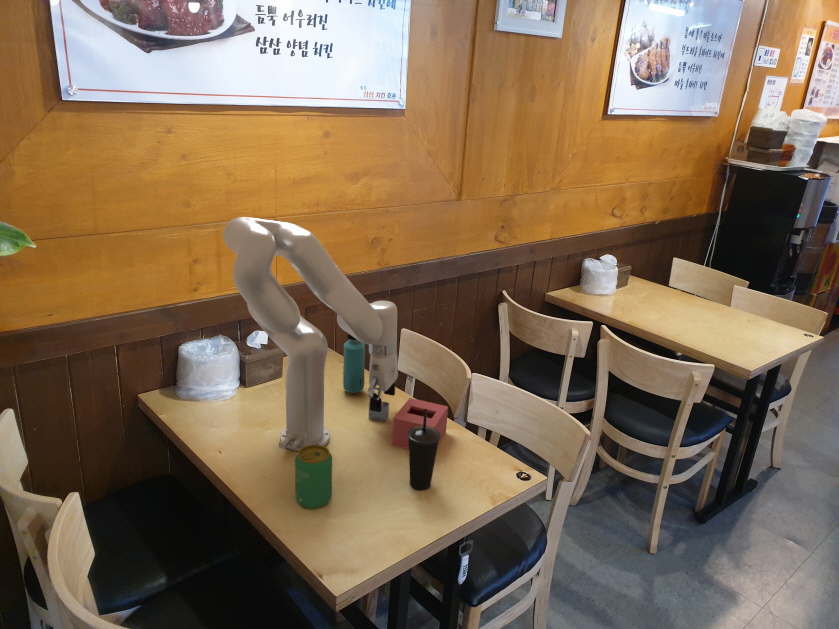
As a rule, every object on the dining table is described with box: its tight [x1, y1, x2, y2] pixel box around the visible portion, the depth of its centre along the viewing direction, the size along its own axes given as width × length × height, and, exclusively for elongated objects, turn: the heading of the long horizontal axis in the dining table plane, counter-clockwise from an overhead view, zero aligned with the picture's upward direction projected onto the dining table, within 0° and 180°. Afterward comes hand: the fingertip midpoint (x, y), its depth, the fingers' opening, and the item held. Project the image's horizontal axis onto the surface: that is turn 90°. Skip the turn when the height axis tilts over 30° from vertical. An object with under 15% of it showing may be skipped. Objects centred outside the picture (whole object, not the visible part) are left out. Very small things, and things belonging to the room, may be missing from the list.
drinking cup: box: [407, 409, 441, 492], centre depth 143 cm, size 8×8×20 cm
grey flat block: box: [368, 400, 390, 423], centre depth 173 cm, size 2×5×5 cm, turn 70°
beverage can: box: [294, 445, 333, 510], centre depth 137 cm, size 8×8×12 cm
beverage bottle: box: [342, 333, 366, 394], centre depth 184 cm, size 6×7×20 cm
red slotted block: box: [391, 397, 449, 450], centre depth 164 cm, size 12×11×8 cm
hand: (382, 402), depth 173 cm, fingers open, 9 cm apart
